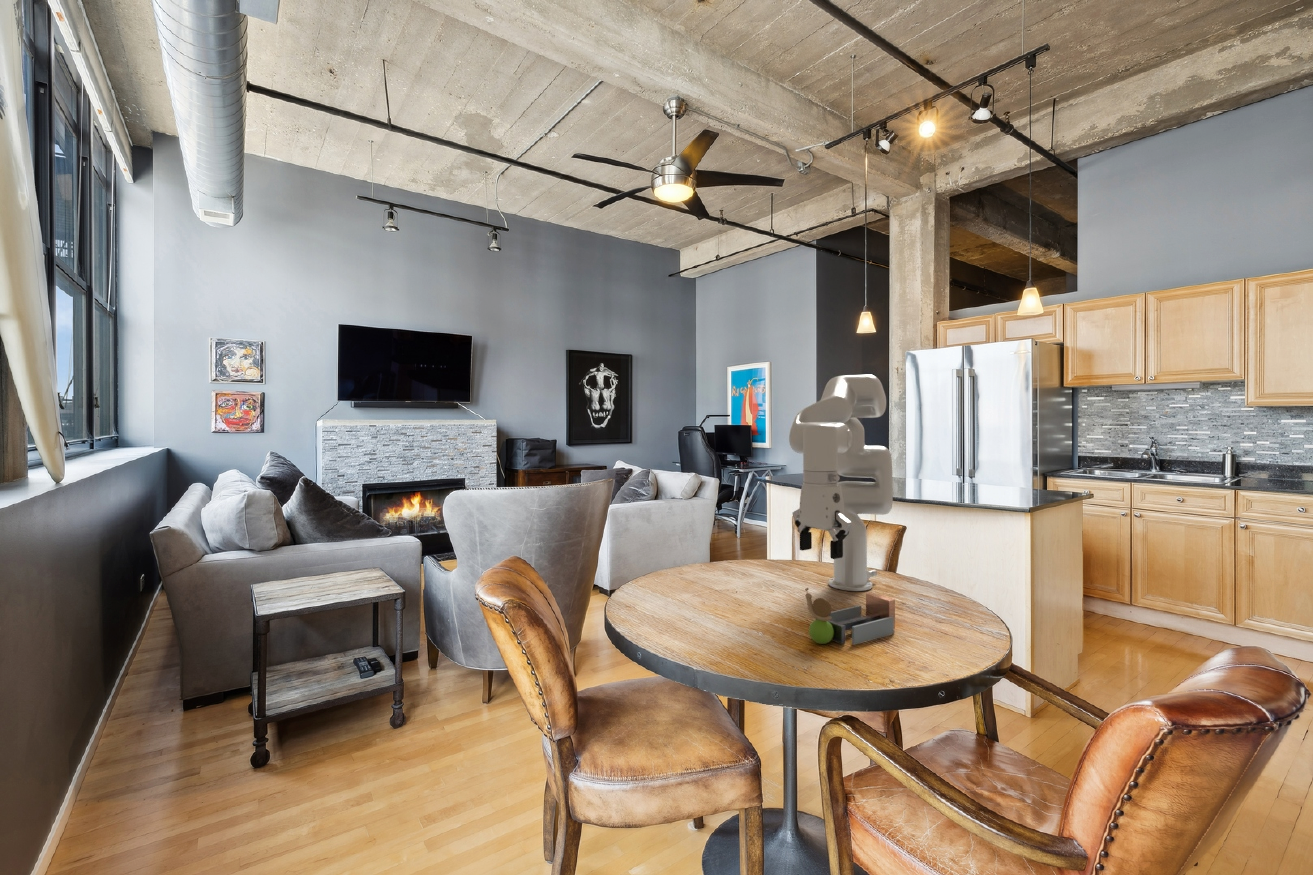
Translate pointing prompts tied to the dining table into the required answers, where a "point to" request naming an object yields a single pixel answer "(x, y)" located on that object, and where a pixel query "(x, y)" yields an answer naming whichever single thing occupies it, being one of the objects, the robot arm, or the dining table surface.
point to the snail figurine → (820, 619)
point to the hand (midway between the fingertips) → (820, 553)
